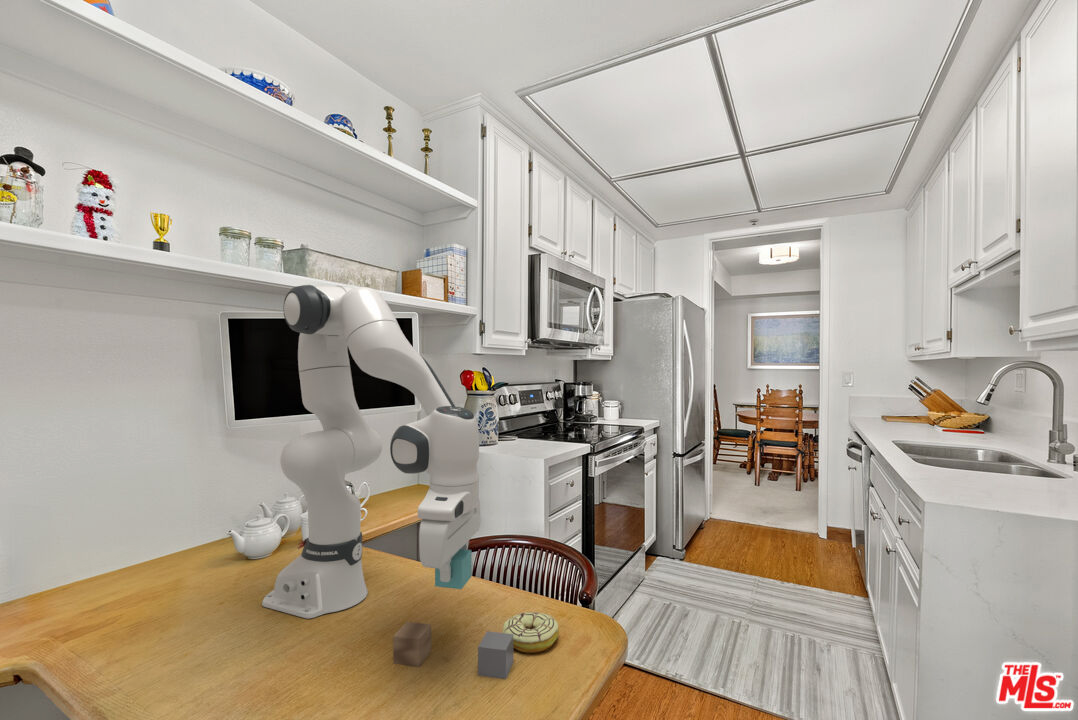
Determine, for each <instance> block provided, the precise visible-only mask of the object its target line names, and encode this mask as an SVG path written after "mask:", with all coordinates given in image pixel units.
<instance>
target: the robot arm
mask: <svg viewBox="0 0 1078 720" xmlns="http://www.w3.org/2000/svg"><path fill="white" fill-rule="evenodd" d="M283 301H284V302H283V316H284V320H285V322H286V324H287V325H288V327H289V328H290V329H291V330H292V331H294V332H296V333H299V336H298V345H297V346H298V347H297V348H298V349H297V361H298V363H297V365H298V375H299V380H300V381H299V382H300V391H301V392H300V393H301V399H302V400H301V401H302V404H303V406H304V408H305V409H306V410H307V411H308V412H310V413H312V414H314V415H315V416H316V418H317V419H318V420H319V422H320V425H321V426H322V429H323V430H319V431H313V432H308V433H305V434H303V435H300V436H297V437H295V438H293V439H292V440H290V441H287V443H286V444H285V445H284V447H283V449H282V451H281V453H280V468H281V471H282V473H283V474H284V476H285V477H286V478H287V479H288V480H289V481H290V482H292V483H294V484H295V485H296V486H298V488H299V489H300V490H301V492H302V495H303V496H304V500H305V503H306V506H307V518H308V519H307V520H308V521H307V523H308V537H307V538H305V539H304V540H302V541H301V542H299V543H297V546H298V547H297V549H298V550H299V549H301V548H302V551H301V553H300V555H298V557H296V558H295V559H294V560H292V561H291V562H290V563H288V565H287V566H285V567H284V568H282V570H280V571H279V572H278V575H277V576H276V579H275V583H274V588H273V590H271V591H269V592H268V594H266V595H265V596H264V598H263V600H262V601H261V602H262V603H261V606H262V607H264V608H268V609H271V610H275V611H279V612H282V613H286V614H289V615H292V616H296V617H299V618H304V619H314V618H316V617H319V616H322V615H325V614H330V613H335V612H340V611H342V610H346V609H349V608H352V607H354V606H355V605H358V604H359V603H361V602H362V601H363V600H364V599H365V598H366V597H367V596H368V592H369V591H368V588H367V586H366V580H365V578H364V571H363V563H362V556H363V532H362V531H361V501H360V499H359V497H358V496H357V495H355V494H354V493H352V492H350V491H349V490H348V487H347V484H346V478H345V477H346V475H347V474H351V473H354V472H357V471H361V470H363V469H365V468H367V467H368V466H371V464H373V463H375V462H376V461H377V460H378V459H379V457H380V456H381V453H382V448H383V443H382V438H381V436H380V435H379V433H378V432H377V430H376V429H374V428H373V427H371V426H370V425H369V424H368V423H367V421H366V419H365V418H364V416H363V414H362V412H361V411H360V407H359V406H358V402H357V400H356V396H355V391H354V385H353V377H352V370H351V364H350V358H349V353H350V355H351V357H352V359H353V360H354V362H355V364H356V365H357V367H358V368H359V369H360V370H361V371H362V372H364V373H366V374H367V375H369V376H371V377H374V378H377V379H381V380H384V381H388V382H391V383H395V384H397V385H399V386H401V387H403V388H405V389H407V390H408V391H410V392H411V393H412V394H413V395H414V397H415V398H416V399H417V401H418V403H419V404H420V405H421V408H422V410H423V411H424V413H425V415H426V416H425V417H423V418H422V419H419V420H416V421H413V422H408V423H406V424H404V425H401V426H399V427H398V428H397V429H396V430H395V432H394V433H393V435H392V436H391V440H390V449H389V450H390V457H391V458H390V459H391V460H392V463H393V464H394V466H395V467H396V469H398V470H399V471H400V472H402V473H403V474H411V475H412V474H413V475H416V474H417V475H418V474H421V473H426V474H428V475H429V489H427V492H426V495H425V496H424V498H423V500H422V501H421V502H420V504H419V505H418V508H417V517H418V519H421V521H420V525H419V530H418V531H419V534H418V539H419V540H418V541H419V542H418V544H419V545H418V546H419V551H418V552H419V561H420V563H421V565H422V567H423V568H427V569H428V568H429V569H435V568H437V569H439V571H440V580H441V581H442V582H449V581H450V580H451V579H452V577H453V575H452V574H453V569H451V567H450V562H451V558H452V557H453V556H454V555H455V554H456V553H457V552H458V551H459V550H460V549H465V550H469V544H470V540H471V539H472V538H473V537H474V535H476V533H478V532H479V531H480V527H481V521H482V520H481V502H480V497H479V491H480V490H479V486H480V483H479V480H480V479H479V478H480V477H479V473H478V462H479V461H478V460H479V457H480V434H479V433H480V432H479V425H478V421H477V417H476V414H475V413H474V412H473V411H472V410H470V409H468V408H464V407H461V406H456V405H455V403H454V401H453V400H452V398H451V397H450V395H449V394H448V392H447V391H446V389H445V387H444V385H443V384H442V382H441V380H440V379H439V377H438V376H437V374H436V373H435V370H434V369H433V368H432V366H431V365H430V363H428V360H426V359H425V358H424V357H423V355H421V354H420V353H419V352H418V351H417V350H416V349H415V348H414V347H413V346H412V344H411V343H410V341H409V340H408V339H407V338H406V336H405V334H404V333H403V330H402V329H401V327H400V325H399V323H398V320H397V318H396V316H395V314H394V313H393V311H392V310H391V308H390V306H389V304H388V303H387V302H386V300H385V299H384V297H383V296H382V294H380V293H379V292H378V291H377V290H375V289H374V288H372V287H366V286H359V287H352V286H347V285H346V286H344V285H316V286H315V285H312V284H303V285H297V286H294V287H292V288H291V289H289V291H288V292H287V294H286V295H285V297H284V300H283ZM348 350H349V351H348Z"/></svg>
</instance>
